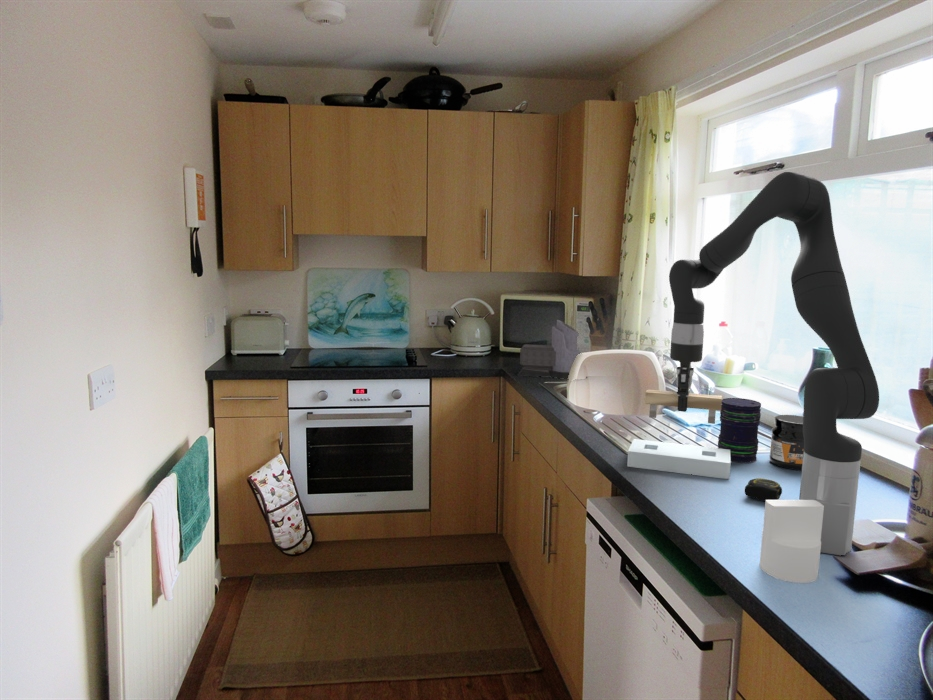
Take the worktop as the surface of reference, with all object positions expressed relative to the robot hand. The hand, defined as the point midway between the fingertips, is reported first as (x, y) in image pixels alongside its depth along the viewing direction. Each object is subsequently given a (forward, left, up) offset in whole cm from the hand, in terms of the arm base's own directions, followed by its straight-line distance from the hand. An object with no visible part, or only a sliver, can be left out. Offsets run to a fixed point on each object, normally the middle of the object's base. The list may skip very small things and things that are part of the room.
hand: (682, 408), depth 168 cm
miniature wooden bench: (0, 0, -3) cm, 3 cm away
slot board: (0, 0, -15) cm, 15 cm away
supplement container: (+13, -27, -15) cm, 33 cm away
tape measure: (-17, -19, -15) cm, 30 cm away
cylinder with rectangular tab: (-52, -21, -15) cm, 58 cm away
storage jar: (+14, -14, -15) cm, 25 cm away
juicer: (+109, +59, -15) cm, 125 cm away
